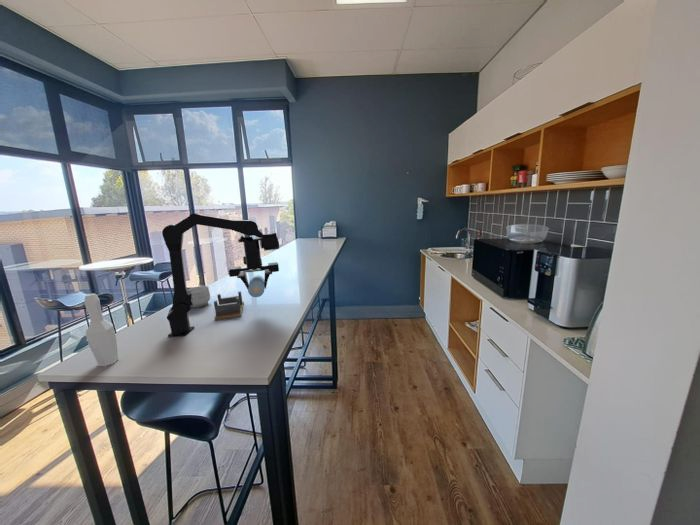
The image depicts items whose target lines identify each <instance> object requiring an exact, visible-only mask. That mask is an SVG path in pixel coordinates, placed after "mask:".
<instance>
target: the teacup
mask: <svg viewBox="0 0 700 525" xmlns="http://www.w3.org/2000/svg"><path fill="white" fill-rule="evenodd" d="M209 287H210V286H208V285H202V284H201V285H199V286H195V287H191V288H187V289H188V291H191V290H192V297H193V299H194V301H193V305H191V308H192V309H193V308H195V309H196V308H200V307H203V306H206V305H207V304H208V303H209V302H210V300H211V294H210V289H209Z"/></svg>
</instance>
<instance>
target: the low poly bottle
mask: <svg viewBox="0 0 700 525" xmlns="http://www.w3.org/2000/svg"><path fill="white" fill-rule="evenodd" d="M83 304H84V307H85V309H86V310H87V313H88V316H89V320H90V323H89V325H88V327H87V329H86V331H85V335H86V336H85V337H86V340H87V342H88V346H89V348H90V351H91V352H92V354H93V357H94V358H95V361H96V363H97V365H98V367H99V366H103V367H108V366H111V365H114V364H115V363H117V362H118V361H119V353H118V343H117V335H116V332H115V329H114V328H115V327H114V324H113V322H112V323H111V322H110V321H108V320H106V319H105V318H104V315H103V313H102V312H103V311H102V309H101V308H102V307H101V301H100V298H99V296H98V295H97V294H96V293H88V294H86V295H84V302H83ZM117 360H118V361H117ZM116 361H117V362H116ZM113 363H114V364H113ZM110 364H111V365H110ZM107 365H108V366H107Z"/></svg>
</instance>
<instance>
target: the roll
mask: <svg viewBox="0 0 700 525" xmlns="http://www.w3.org/2000/svg"><path fill="white" fill-rule="evenodd" d="M264 281H265V277H263V276H262V275H260V274H255V275H253V276H251V278H250V279H249V282H248V283H249V287H248V289H247V292H248V294H249V295H250V296H251V297H252V298H260V297H261V296H263V295H264V293H265V287H264Z"/></svg>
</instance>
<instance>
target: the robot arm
mask: <svg viewBox="0 0 700 525" xmlns="http://www.w3.org/2000/svg"><path fill="white" fill-rule="evenodd" d="M197 225H198V226H205V227H210V228H218V229H224V230H231V231H234V232H237V233H240V234H242V235H240V237H239V239H237V242H239V243H243V248H244V256H243V257H242V262H243V264H244V266H245V265H246V267H242V266H241V265H237V266H231V267H230V269H229V270H228V275H229V278H230V277H231V278H233V277H234V278H235V277H236V278H237V279H240V280H241V281H242V283H243V284H244V285H245V287H246V289H247V290H248V287H249V283H250V282H249V280H248V276H247V273H254V272H264V280H265V281H264V290H266V289H267V285H268V280H269V277H270V276H271V275H273V273H278V272H279V271H280V268H279V263H278V262H275V261H274V262H268V263H267V264H268V265H263V260H262V258H261V250H264V251H274V250H279V249H280V242H279V237H278V235H277V234H278V233H277V232H272V233H265V234H264V233H263V232H262V231H260V229H259V227H258V224H257V223H256V222H255V221H254V220H250V219H226V218H222V217H216V216H210V215H204V214H200V213H197V212H195V213H190V214H189V216H187V217H186V218H184V219H182V220H181V221H178V223H176V224H175V223H171V224H170V223H169V225H167V226H165V227H163V229H162V238H163V240H164V244H165V245H166V248H167V249H168V250H167V251H168V252H169V253H168V254H169V260H170V268H171V276H172V283H173V284H172V286H173V296H172V305H171V308H170V309H169V310H168V313H167V316H166V319H167V321H168V322H169V327H170V333H169V334H167V337H181V336H186V335H188V334H189V333H190V332H191V331H192V330H194V329H195V326H191V324H190V319H189V314H188V313H189V312H190V311H191V308H192V307H191V305H193V301H194V299H193V297H192V290H191V291H188V289H189V288H188V287H187V283H186V282H187V281H186V274H185V273H186V272H185V266H184V256H183V242H184V234H185V233H186V232H188V231H189V230H191V228H193V227H195V226H197ZM244 235H246V236H244ZM254 236H255V237H256V238H253V237H254Z"/></svg>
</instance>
